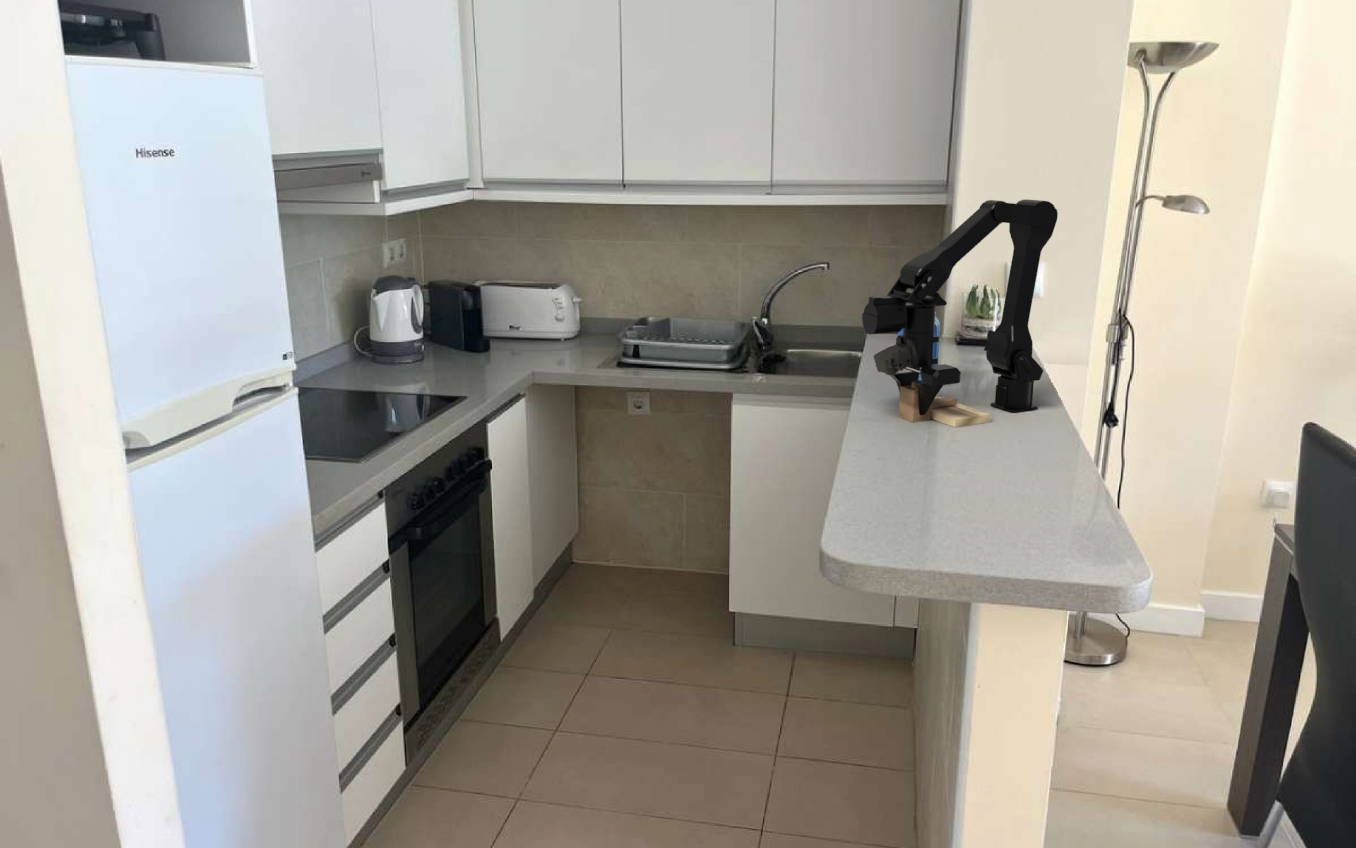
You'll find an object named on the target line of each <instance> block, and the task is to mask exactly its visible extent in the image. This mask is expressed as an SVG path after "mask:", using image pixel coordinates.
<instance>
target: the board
mask: <svg viewBox="0 0 1356 848" xmlns="http://www.w3.org/2000/svg"><path fill="white" fill-rule="evenodd" d="M938 398H943V397H941V396H940V395H939V396H938V395H936V397H935V398H934V399H938ZM930 420H934V421H937V422H939V423H941V424H942V423H943V424H945V425H948V426H949V427H953V428H960V427H967V426H973V425H979V424H985V423H986V424H987V423H990V422H991V413H988V412H986V411H985V412H984V411H982V410H979V409H977V408H974V407H970V406H967V405H964V404H961V403H958V402H957V405H950V406H943V407H936V408H931V417H930Z"/></svg>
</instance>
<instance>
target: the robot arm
mask: <svg viewBox="0 0 1356 848" xmlns="http://www.w3.org/2000/svg"><path fill="white" fill-rule="evenodd" d="M1058 217H1059V216H1058V209H1057V208H1056V207H1055V205H1054V204H1053V203H1052V202H1050V201H1048V200H1038V199H1037V200H1036V199H1021V200H1018V201H1017V202H1016V203H1013V202H1006V201H1003V200H995V199H989V200H986V201H983V202H982V203H981V205H980V206H979V208H978V209H977V210H976V211H975V212H973V214H971V215H970V216H969V217H968V218H967V219H966V220H964V222H962V224H960V225H959V226H958V227H957V228H956V229H954V230H953V232H951V233H950V234H949V235H948V236H947V237H946V238H945V239H943V240H942V241H941V242H940V243H939V244H937V246H935V247H934V248H932V249H931V250H928V251H925V252H923V253H921V254H919V255H917V256H916V257H914V258H912V259H911V260H909V261H908V262H906V263H905V264H904V265H903V266H902V267H901V269H900V271H899V272H900V273H899V274H900V275H899V277H898V278H897V280H896V281H895V283H894V284H893V286H892V287H891V288H890V289H889V292H888V293H887V295H886V296H877V295H876V296H875V295H874V296H873V295H872V296H869V297H868V303H867V304H866V305H865V307H864V308H863V312H862V314H861V315H862V316H861V319H862V326H863V329H864V331H865V332H866V334H867V335H880V334H893V333H899V332H900V331H901V330H902V329H903V335H899V334H897V337H896V339H895V340H896V341H895V344H894V345H892V346H888V347H886V348H884V349H883V350H880V351H878V352H877V353H875V354H874V355H872V356H873V357H872V358H873V360H874V363H875V367H876V369H877V372H878V373H883V374H885V375H887V376H890V377H891V379H893V380H894V381H895V383H896V385H897V388H898V393H900V386H906V385H912V382H913V383H914V384H915V385H916V387H917V388H918V398H919V414H920V415H925V414H926V413H927V411H928V409H929V407H930V406H931V404H932V402H933V400H934V398H935V397H936V396H938V394H939V392H940V390H941V389H942V387H943V386H948V385H953V384H954V385H955V384H960V383H961V371H960V370H959V368H958V367H956V366H952V365H949V364H945V363H944V364H939V357H938V358H935V357H933V349H934V342H939V343H940V336H935V335H934V330H935V312H936V309H937V307H941V306H943V307H944V306H947V305H948V302H947V301H946V300H945V299H944V298H943V297H942V296H941V295H940V293H939V291H940V290H941V288H942V287H943V286H944V285H945V284H946V282H947V281H948V279H949V278H950V276H951V274H952V270H953V268H954V267H955V266H956V265H957V264H958V263H959V262H960V261H961V260H962V259H964V258H965V256H966V255H967V254H969V253H970V252H971V251H972V250H973V249H974V248H975V247H977V245H979V244H980V243H981V242H982V241H983V240H984V239H985V238H986V237H988V236H989V234H991V233H992V232H993V231H994V230H995V229H996V228H997V227H999V226H1000V225H1001V224H1004V223H1006V224H1008V225H1009V229H1008V231H1009V235H1010V239H1011V241H1012V245H1013V252H1012V257H1011V263H1010V268H1009V275H1008V282H1007V287H1006V292H1005V299H1004V305H1003V311H1002V316H1001V320H1000V323H999V324H998V326H997V328H996V329H995V330H991V329H989V330H988V331H987V333H986V344H985V346H984V348H983V351H985V352H986V354H985V356H986V360H987V361H988V363H989V364H990V366H991V369H992V373H993V374H997V375H999V376H997V384H996V385H995V393H994V394H995V395H994V397H995V398H994V401H993V402H990V406H991V407H994V408H997V409H1001V410H1003V411H1007V412H1009V413H1017V412H1025V411H1031V410H1038V408H1039V406H1038V405H1035V404H1033V399H1034V398H1033V397H1034V384H1035V381H1036V382H1037V381H1040V380H1041V377H1042V375H1043V373H1044V369H1043V367H1041V365H1040V364H1039V363H1038V362H1037V361H1036V360H1035V358H1034V357H1033V339H1032V335H1031V332H1030V329H1029V322H1030V315H1031V309H1032V305H1033V299H1034V293H1035V287H1036V282H1037V276H1038V271H1039V265H1040V259H1041V253H1042V250H1043V249H1044V247H1045V246H1046V245H1047V243H1048V242H1049V240H1050V239H1051V238H1052V236H1053V233H1054V230H1055V227H1056V224H1057V221H1058ZM932 364H938V365H935V366H932ZM920 368H921V369H920ZM919 374H921V380H918V378H919Z"/></svg>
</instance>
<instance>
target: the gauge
mask: <svg viewBox="0 0 1356 848" xmlns="http://www.w3.org/2000/svg"><path fill="white" fill-rule="evenodd" d="M957 403H958V398H956V397H952V396H946V397H942V398H938V399H934V400H933V402H932V404H931V406H930V407H929V409H928V411H927V413H926V414H925V415H920V414H919V398H918V388H917V387H916V385H915V384H914V383H913V382H912V385H906V386H900V392H899V401H898V404H899V405H898V418H901V419H902V420H905V421H909V422H911V423H918V422H925V421H926V422H927V421H930V420H931V418H930V417H931V408H936V407H943V406H950V405H957Z"/></svg>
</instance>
